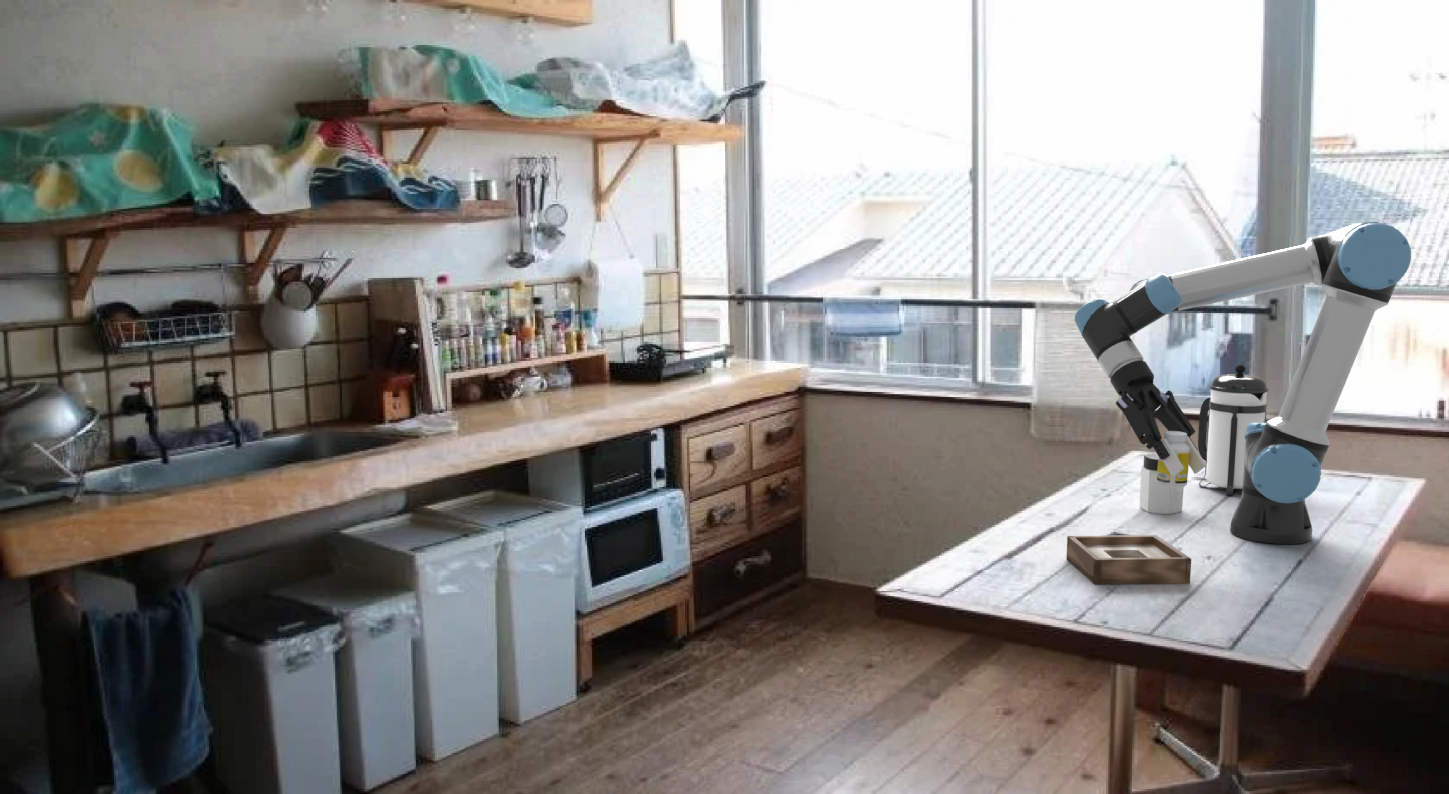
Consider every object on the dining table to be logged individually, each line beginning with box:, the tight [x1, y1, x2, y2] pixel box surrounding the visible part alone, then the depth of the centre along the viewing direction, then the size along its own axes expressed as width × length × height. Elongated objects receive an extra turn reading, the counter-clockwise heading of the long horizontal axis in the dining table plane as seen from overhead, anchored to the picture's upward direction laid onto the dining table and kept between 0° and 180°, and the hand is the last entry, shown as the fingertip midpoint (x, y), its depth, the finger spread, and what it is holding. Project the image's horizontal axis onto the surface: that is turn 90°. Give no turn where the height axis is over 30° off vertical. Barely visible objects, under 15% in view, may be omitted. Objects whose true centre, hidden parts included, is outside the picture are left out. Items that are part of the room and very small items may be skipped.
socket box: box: [1065, 534, 1192, 586], centre depth 223 cm, size 17×16×4 cm
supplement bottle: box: [1157, 430, 1190, 488], centre depth 227 cm, size 5×5×10 cm
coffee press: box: [1197, 363, 1270, 497], centre depth 288 cm, size 17×16×30 cm
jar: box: [1138, 452, 1184, 515], centre depth 268 cm, size 9×8×12 cm
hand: (1189, 470), depth 225 cm, fingers closed on supplement bottle, 5 cm apart
